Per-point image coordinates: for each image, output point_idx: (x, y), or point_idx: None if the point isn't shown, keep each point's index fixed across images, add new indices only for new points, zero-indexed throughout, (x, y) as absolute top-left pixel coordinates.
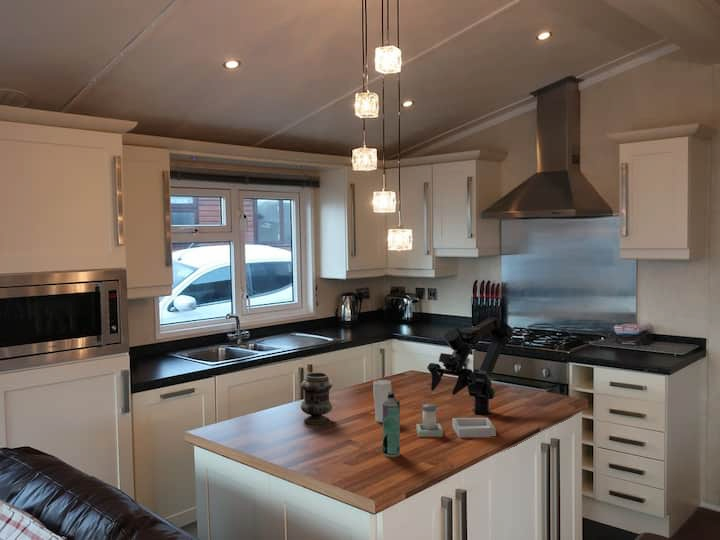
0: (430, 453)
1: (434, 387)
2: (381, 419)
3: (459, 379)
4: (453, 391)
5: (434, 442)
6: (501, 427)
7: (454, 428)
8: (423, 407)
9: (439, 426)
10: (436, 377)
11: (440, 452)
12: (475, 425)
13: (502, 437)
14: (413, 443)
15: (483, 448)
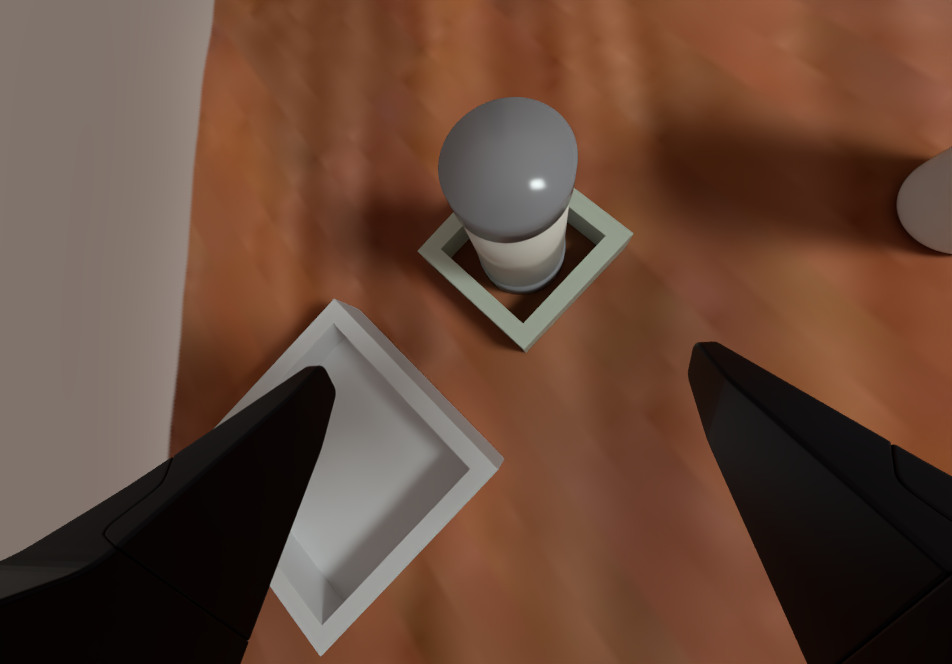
0: (335, 54)
1: (712, 417)
2: (932, 158)
3: (28, 575)
4: (291, 379)
5: (407, 165)
6: (275, 647)
7: (449, 404)
8: (527, 106)
9: (485, 301)
10: (922, 629)
11: (311, 94)
12: (378, 537)
13: None
14: (472, 79)
15: (200, 271)
